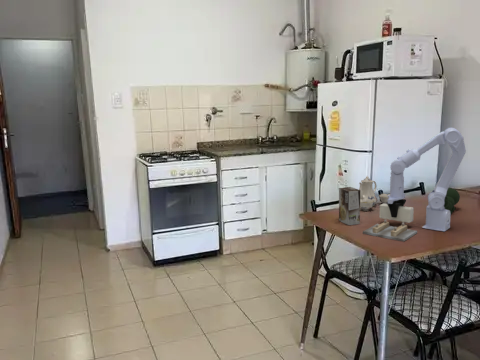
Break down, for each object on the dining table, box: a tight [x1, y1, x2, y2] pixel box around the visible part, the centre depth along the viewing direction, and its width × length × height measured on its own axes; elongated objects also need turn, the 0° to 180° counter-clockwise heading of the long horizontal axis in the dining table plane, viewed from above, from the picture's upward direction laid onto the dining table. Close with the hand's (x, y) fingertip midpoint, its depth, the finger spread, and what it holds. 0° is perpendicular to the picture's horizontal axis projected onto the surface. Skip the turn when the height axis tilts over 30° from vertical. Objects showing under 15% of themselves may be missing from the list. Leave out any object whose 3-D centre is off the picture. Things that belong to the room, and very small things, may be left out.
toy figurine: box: [444, 187, 461, 215], centre depth 215 cm, size 9×19×25 cm
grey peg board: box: [362, 219, 418, 243], centre depth 185 cm, size 18×14×4 cm
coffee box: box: [338, 186, 361, 226], centre depth 203 cm, size 9×6×16 cm
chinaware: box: [358, 175, 390, 212], centre depth 231 cm, size 28×17×17 cm, turn 129°
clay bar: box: [379, 203, 415, 223], centre depth 196 cm, size 14×4×6 cm, turn 47°
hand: (396, 216), depth 196 cm, fingers closed on clay bar, 4 cm apart
